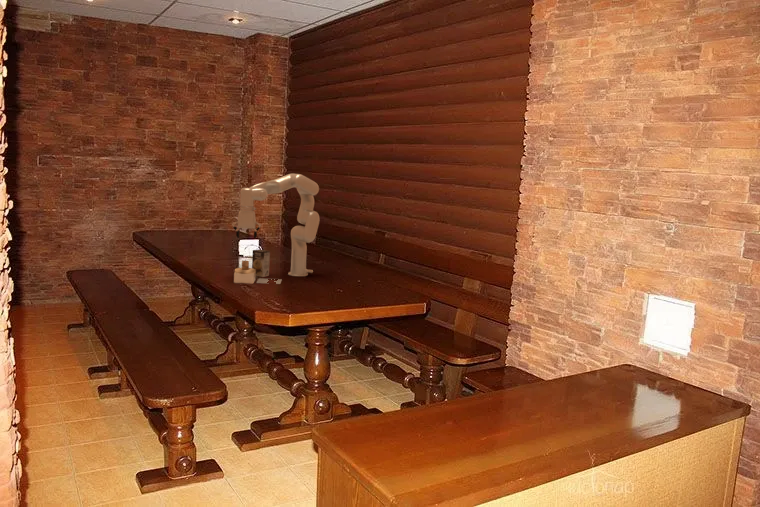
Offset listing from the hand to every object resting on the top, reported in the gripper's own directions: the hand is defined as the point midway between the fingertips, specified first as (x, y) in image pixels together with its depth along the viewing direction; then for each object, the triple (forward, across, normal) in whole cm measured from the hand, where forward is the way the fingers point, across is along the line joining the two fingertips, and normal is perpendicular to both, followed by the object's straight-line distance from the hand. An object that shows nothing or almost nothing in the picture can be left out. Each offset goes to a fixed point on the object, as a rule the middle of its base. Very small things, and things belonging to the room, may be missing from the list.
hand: (246, 237), depth 371 cm
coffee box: (+26, -7, -16) cm, 31 cm away
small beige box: (+26, 0, +5) cm, 26 cm away
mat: (+26, -14, +2) cm, 29 cm away
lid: (+20, 0, +5) cm, 20 cm away
